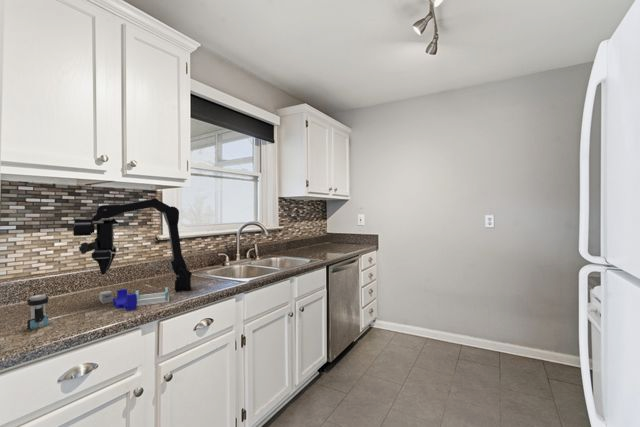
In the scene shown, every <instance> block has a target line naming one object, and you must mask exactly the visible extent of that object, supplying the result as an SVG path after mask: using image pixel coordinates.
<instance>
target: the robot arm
mask: <svg viewBox="0 0 640 427" xmlns="http://www.w3.org/2000/svg"><path fill="white" fill-rule="evenodd" d="M148 208H153V209H155V210H156V211H157V212H160V213H161V214H162V215H163V218H164V221H165V223H166V225H167V229H168V236H169V243H170V244H169V245H170V250H171V259H168V260H167V262H168V263H169V267H168V268H169V270H171V272H172V273H174V274H175V279H174V290H175V291H176V293H177V292H185V291H187V292H188V291H192V288H191V285H192V283H191V281H192V280H191V279H192V278H191V277H192V275H193V272H192V271H190V270H189V269H188V267H187V264H186V260H185V259H184V257H183V255H182V247H181V240H180V232H179V227H178V226H179V221H180V220H179V219H180V210H179V209H178V208H177V207H176V206H170V205H168V204H166V203H164V202H162V201H161V200H159V199H158V198H156V197H152V198H150V199H146V200H145V199H144V200H140V201H134V202H129V203H123V204H102V205H100V206H98V207H97V208H96V211H95V212H96V213H95V215H94V216H92V217H91V219H89V218H88V219H85V218H84V219H83V218H81V219H80V218H74V222H73V224H74V225H73V226H74V227H73V228H72V230H73V237H80V236H81V237H83V236H84V237H85V236H86V237H87V236H92V234H95V225H96V237H95V238H94V241H91V242H90V243H88V242H86V241H85V242H83V243H81V244H80V246H78V251H80V254H82V255H84V254H86V253H88V252H91V251H93V252H92V253H91V259H92V260H93V261H95V262H96V263H97V264H98V267H99V270H100V273H101V276H102V275H106V272H107V271H109V269H110V268H111V266H112V263H113V261H114V259H115V256H116V254H117V252H118V251H117V249H118V248H117V247H116V245H114V239H115V237H114V225H118V224H119V222H118V221H117V220H116V219H115V218H114V217H115V216H118V215H121V214H123V213H127V212H128V213H129V212H132V211H133V212H134V211H139V210H144V209H148ZM110 218H112V219H110ZM102 219H104V220H102ZM101 220H102V222H99V221H101Z"/></svg>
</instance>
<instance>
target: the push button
mask: <svg viewBox="0 0 640 427" xmlns="http://www.w3.org/2000/svg"><path fill="white" fill-rule="evenodd" d="M49 299H50V297H48V296H46V294H35V295H31V296H30V298H29V299H27V300H26V303H27V306H30V318H29V319H27V323H26V324H27V328H28V329H31V330H34V329H37V328H42V327H44V326H47V325H49V323H50V322H53V321H54V320H52V319H53V317H50V318H49V316H47V314H46V304H48V302H49Z"/></svg>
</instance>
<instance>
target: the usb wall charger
mask: <svg viewBox="0 0 640 427" xmlns="http://www.w3.org/2000/svg"><path fill="white" fill-rule="evenodd" d="M98 298H99V302H101V303H102V304H109V303H113V298H114V292H112V291H111V290H104V291H100V292H99V294H98Z"/></svg>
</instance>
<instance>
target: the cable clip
mask: <svg viewBox="0 0 640 427" xmlns="http://www.w3.org/2000/svg"><path fill="white" fill-rule="evenodd" d="M116 292H117V294H116V296H117V297H113V302H112V306H113V307H115V308H117V309H121V308H123V310H126V311H127V312H129V311H133V310H137V308H138V306H137V298H136V293H135V292H134V293H128V289H127V288H121V289H117V290H116Z"/></svg>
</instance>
